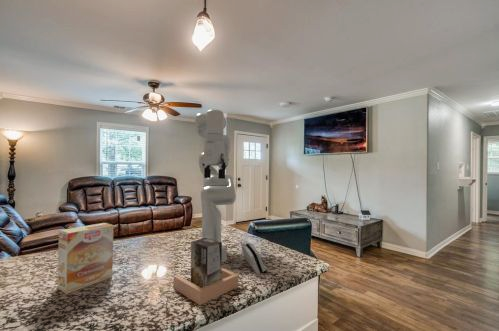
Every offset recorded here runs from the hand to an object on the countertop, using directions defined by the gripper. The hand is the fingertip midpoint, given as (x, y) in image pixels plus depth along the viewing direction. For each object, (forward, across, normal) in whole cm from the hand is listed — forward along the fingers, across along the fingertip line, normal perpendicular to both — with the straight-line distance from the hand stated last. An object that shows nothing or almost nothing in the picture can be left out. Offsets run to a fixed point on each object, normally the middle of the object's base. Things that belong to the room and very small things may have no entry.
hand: (214, 178), depth 107 cm
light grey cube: (+37, 0, +2) cm, 37 cm away
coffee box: (+36, +17, -17) cm, 44 cm away
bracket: (+36, +16, -16) cm, 43 cm away
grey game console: (+37, +15, +9) cm, 41 cm away
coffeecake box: (+36, -17, -43) cm, 59 cm away
